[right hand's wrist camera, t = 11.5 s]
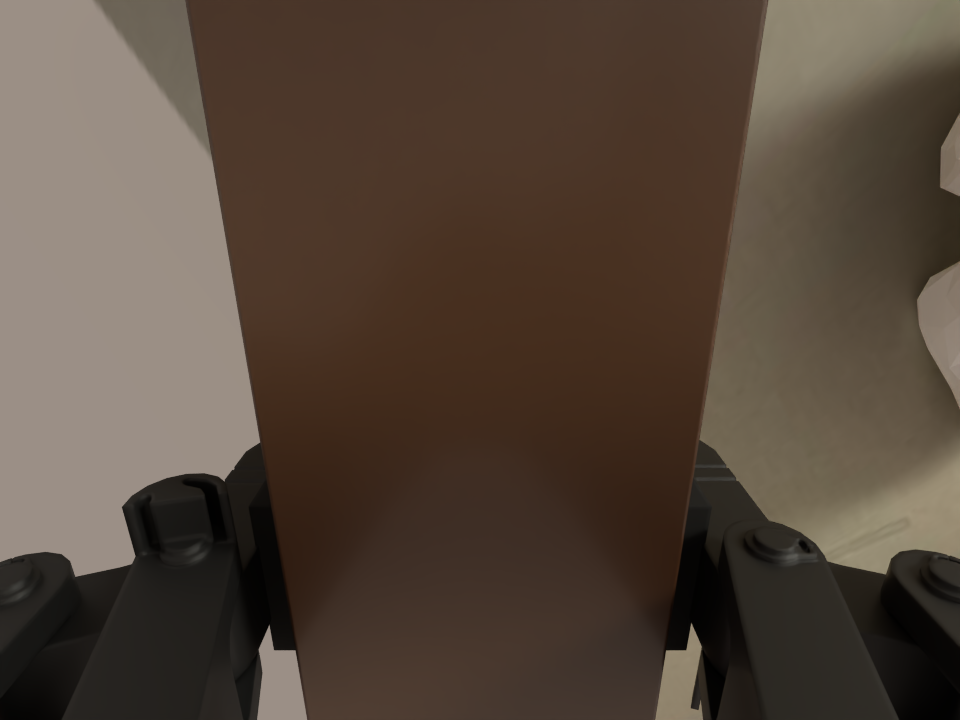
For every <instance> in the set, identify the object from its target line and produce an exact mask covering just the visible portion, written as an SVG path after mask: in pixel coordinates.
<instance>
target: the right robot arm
mask: <svg viewBox="0 0 960 720" xmlns="http://www.w3.org/2000/svg"><path fill="white" fill-rule="evenodd" d="M122 509H123V513H124V516H125V520H126V523H127V527H128V531H129V534H130V538H131V541H132V545H133V548H134V552H135V555H136V557H135V559H134V561H133V563H132V564H131V565H127V566H124V567H120V568H115V569H111V570H106V571H101V572H97V573H92V574H87V575H82V576H78V577H75V575H74V572H73V569H72V566H71V563H70V561H69V560H68V559H67V558H65V557H64V556H63V555H62V554H56V553H49V552H42V553H34V554H26V555H22V556H18V557H15V558H13V559H12V558H11V559H8V560H5V561H2V562H0V720H257V715H258V706H259V697H260V689H261V680H262V667H261V660H260V655H259V650H258V649H259V647H260V645H261V642H262V640H263V638H264V636H265V633H266V631H267V629H268V626H269V624H270V630H271V635H272V641H273V647H274V650H296V649H295V644H294V638H293V632H292V626H291V620H290V614H289V608H288V602H287V596H286V590H285V585H284V579H283V573H282V567H281V561H280V555H279V549H278V543H277V537H276V531H275V526H274V520H273V514H272V508H271V502H270V496H269V490H268V484H267V478H266V473H265V467H264V461H263V455H262V449H261V443H259V444H257V445H256V446H254V447H253V448H251V449H250V450H248V451H246V453H245V454H244V455H243V457H242V458H241V459H240V460H239V462H238V463H237V465H236V466H235V469H234V470H232V471H231V472H230V474H229V475H228V476H227V478H226V479H225V482H224V481H223V480H222V479H220V478H219V477H217V476H213V475H209V474H205V473H202V474H184V475H179V476H175V477H170V478H166V479H164V480H161V481H159V482H156V483H153V484H151V485H149V486H147V487H145V488H143V489H142V490H140V491H139V492H137V493H136V494H134V495H132V496H131V497H130V499H129V500H128V501H127V502H126V503H125V504H124V505H123V507H122ZM691 623H692V625H693V627H694V630H695V632H696V634H697V636H698V639H699V641H700V643H701V646H702V650H701V655H700V660H699V665H698V670H697V675H696V681H695V686H694V691H693V696H692V703H691V708H692V709H696V710H699V705H700V700H701V705H702V713H703V720H960V559H958V558H955V557H952V556H947V555H946V554H941V553H937V552H931V551H923V550H909V551H902V552H899V553H898V554H897V555H895V556H894V557H893V558H892V559H891V561H890V564H889V567H888V570H887V573H886V575H885V574H880V573H876V572H871V571H866V570H861V569H857V568H852V567H847V566H842V565H838V564H835V563H831V562H827V560H826V558H825V556H824V554H823V553H822V552H821V550H820V549H819V548H818V546H817V545H816V544H815V543H814V542H813V541H811V540H810V539H809V538H807V537H806V536H804V535H803V534H802V533H800V532H798V531H796V530H794V529H792V528H789V527H787V526H785V525H783V524H779V523H775V522H771V521H768V519H767V518H766V517H765V515H764V514H763V513H762V511H761V510H760V509H759V508H758V506H757V505H756V504H755V502H754V501H753V500H752V498H751V497H750V496H749V494H748V493H747V492H746V490H745V489H744V488H743V486H742V485H741V484H740V483H739V481H736V477H735V476H734V475H733V473H732V472H731V471H730V469H729V468H726V464H725V463H724V462H723V460H722V459H721V458H720V456H719V455H718V454H717V452H716V451H715V450H714V449H712V448H711V447H709V446H708V445H706V444H705V443H703V442H702V441H700V440H699V444H698V450H697V456H696V463H695V469H694V476H693V482H692V488H691V495H690V501H689V507H688V514H687V520H686V526H685V533H684V539H683V545H682V552H681V558H680V564H679V571H678V577H677V584H676V590H675V596H674V603H673V609H672V615H671V622H670V628H669V634H668V641H667V647H666V650H686V649H687V643H688V638H689V632H690V626H691Z"/></svg>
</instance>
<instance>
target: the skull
mask: <svg viewBox="0 0 960 720" xmlns="http://www.w3.org/2000/svg"><path fill="white" fill-rule="evenodd" d="M940 188H942V189H945V190H947V191H949V192H951V193H953V194H956V195H958V196H960V113H959V115H958V117H957V119H956V121H955V123H954V125H953V126H952V128H951V130H950V132H949V134H948V136H947V137H946V139H945V141H944V143H943V145H942V147H941V168H940ZM917 307H918V320H919V327H920V329H921V332H922V335H923V337H924V340H925V343H926V345H927V348H928V350H929V352H930V353H931V355H932V357H933V359H934V360H935V362H936V364H937V365H938V367H939V369H940V371H941V372H942V374H943V376H944V377H945V379H946V381H947V383H948V384H949V386H950V388H951V390H952V392H953V394H954V397H955V399H956V401H957V404H958V406H959V408H960V261H959V262H958V263H956V264H954V265H952V266H950V267H948V268H947V269H945V270H943V271H941V272H939V273H937V274H935V275H933V276H931V277H930V279H929V280H928V282H927V284H926V285H925V287H924V289H923V290H922V292H921V294H920V296H919V297H918V299H917Z"/></svg>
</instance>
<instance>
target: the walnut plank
mask: <svg viewBox="0 0 960 720" xmlns="http://www.w3.org/2000/svg"><path fill="white" fill-rule="evenodd" d="M185 1H186V7H187V13H188V18H189V24H190V30H191V36H192V42H193V48H194V54H195V60H196V66H197V71H198V77H199V83H200V89H201V95H202V101H203V107H204V113H205V119H206V125H207V130H208V136H209V142H210V148H211V154H212V160H213V166H214V172H215V178H216V184H217V189H218V195H219V201H220V207H221V213H222V219H223V225H224V231H225V237H226V243H227V248H228V254H229V260H230V266H231V272H232V278H233V284H234V290H235V296H236V301H237V307H238V313H239V319H240V325H241V331H242V337H243V343H244V348H245V354H246V360H247V366H248V372H249V378H250V384H251V390H252V396H253V402H254V408H255V414H256V419H257V425H258V431H259V437H260V443H261V449H262V455H263V461H264V467H265V473H266V478H267V484H268V490H269V496H270V502H271V508H272V514H273V520H274V526H275V531H276V537H277V543H278V549H279V555H280V561H281V567H282V573H283V579H284V585H285V590H286V596H287V602H288V608H289V614H290V620H291V626H292V632H293V638H294V644H295V649H296V655H297V661H298V667H299V673H300V679H301V685H302V690H303V697H304V702H305V708H306V714H307V720H655V717H656V711H657V704H658V698H659V692H660V685H661V679H662V672H663V666H664V660H665V653H666V647H667V641H668V634H669V628H670V622H671V615H672V609H673V603H674V596H675V590H676V584H677V577H678V571H679V564H680V558H681V552H682V545H683V539H684V533H685V526H686V520H687V514H688V507H689V501H690V495H691V488H692V482H693V476H694V469H695V463H696V456H697V450H698V444H699V437H700V431H701V425H702V418H703V412H704V406H705V399H706V393H707V387H708V380H709V374H710V368H711V361H712V355H713V348H714V342H715V336H716V329H717V323H718V317H719V310H720V304H721V298H722V291H723V285H724V279H725V272H726V266H727V259H728V253H729V247H730V240H731V234H732V228H733V221H734V215H735V209H736V202H737V196H738V190H739V183H740V177H741V171H742V164H743V158H744V151H745V145H746V139H747V132H748V126H749V120H750V113H751V107H752V101H753V94H754V88H755V82H756V75H757V69H758V63H759V56H760V50H761V43H762V37H763V31H764V24H765V18H766V12H767V5H768V0H185Z"/></svg>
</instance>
